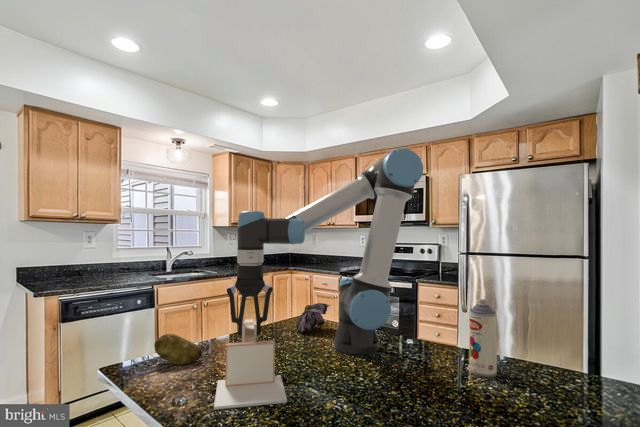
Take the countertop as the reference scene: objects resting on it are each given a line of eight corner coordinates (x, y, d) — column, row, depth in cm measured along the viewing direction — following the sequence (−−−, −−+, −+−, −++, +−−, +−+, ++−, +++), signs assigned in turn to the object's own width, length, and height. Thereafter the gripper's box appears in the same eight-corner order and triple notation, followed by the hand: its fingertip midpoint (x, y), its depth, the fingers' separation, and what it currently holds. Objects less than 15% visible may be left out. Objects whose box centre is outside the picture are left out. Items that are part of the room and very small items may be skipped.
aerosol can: (464, 368, 103) (464, 297, 103) (486, 366, 104) (485, 297, 105) (479, 378, 96) (478, 302, 97) (502, 376, 97) (501, 301, 98)
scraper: (237, 341, 109) (237, 319, 110) (260, 339, 111) (260, 318, 111) (235, 364, 91) (235, 337, 91) (263, 362, 92) (263, 336, 93)
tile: (273, 380, 92) (274, 340, 93) (274, 382, 91) (274, 342, 91) (225, 384, 90) (226, 343, 90) (225, 386, 88) (226, 345, 88)
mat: (280, 377, 95) (280, 375, 95) (287, 402, 82) (287, 399, 82) (217, 382, 92) (217, 380, 92) (213, 409, 78) (213, 406, 78)
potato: (188, 370, 100) (189, 340, 100) (148, 365, 103) (149, 337, 103) (205, 359, 108) (205, 332, 108) (167, 355, 111) (168, 329, 111)
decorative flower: (300, 300, 149) (332, 292, 143) (310, 325, 150) (342, 319, 144) (285, 317, 136) (319, 310, 130) (296, 345, 137) (331, 339, 131)
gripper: (221, 265, 99) (219, 352, 98) (278, 265, 102) (277, 349, 101) (223, 263, 106) (221, 343, 105) (276, 262, 110) (275, 340, 109)
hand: (249, 346), depth 103 cm, fingers closed on scraper, 3 cm apart
